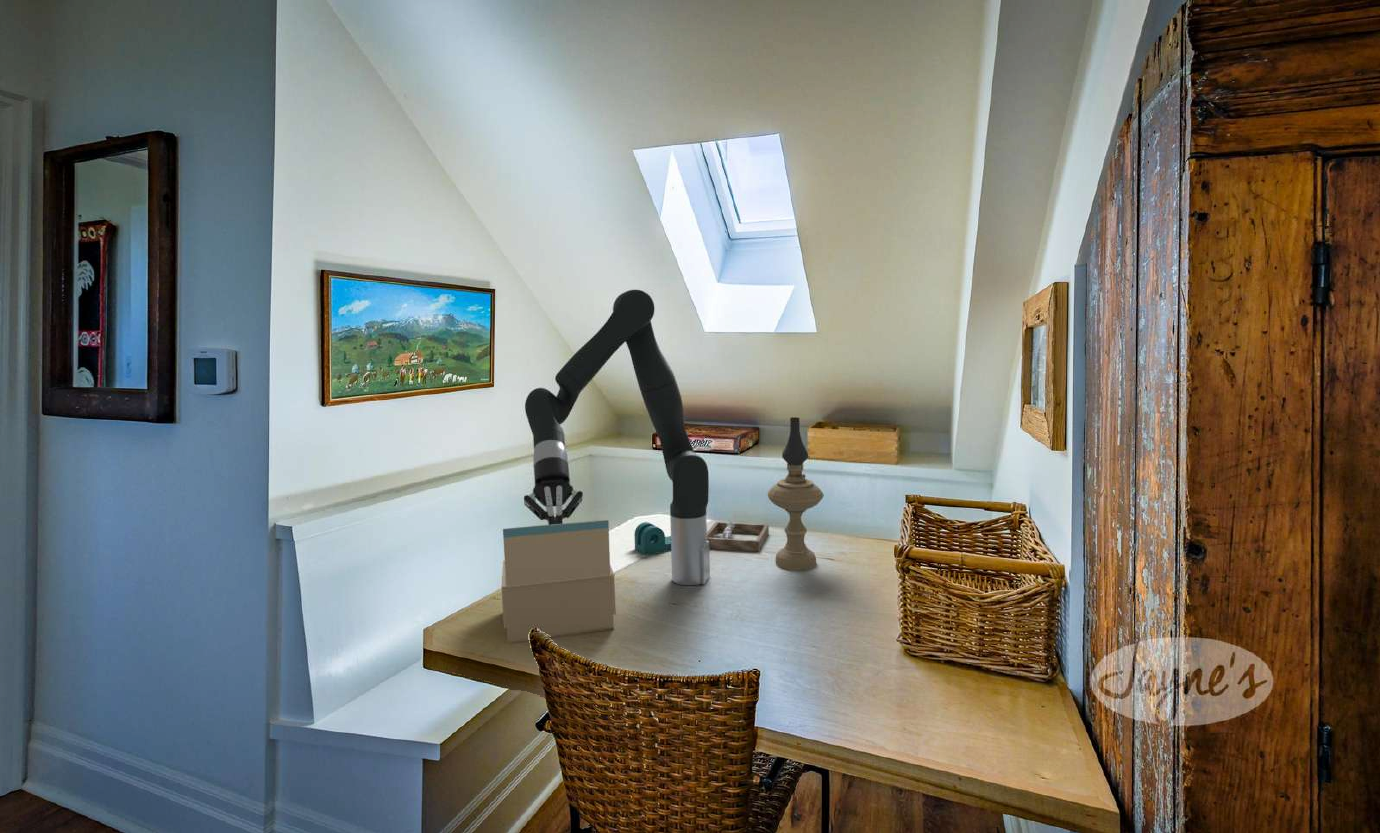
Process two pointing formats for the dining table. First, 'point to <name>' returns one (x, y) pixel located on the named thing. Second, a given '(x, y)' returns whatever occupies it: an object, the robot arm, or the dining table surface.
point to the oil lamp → (795, 503)
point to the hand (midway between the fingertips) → (556, 534)
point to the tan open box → (558, 607)
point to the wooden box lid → (556, 552)
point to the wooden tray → (738, 543)
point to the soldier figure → (726, 531)
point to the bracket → (651, 539)
